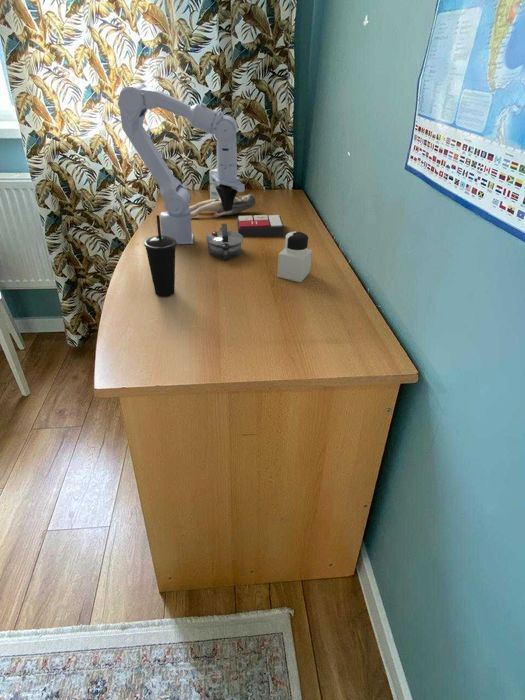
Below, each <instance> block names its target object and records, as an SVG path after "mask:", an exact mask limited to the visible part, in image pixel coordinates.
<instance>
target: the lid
mask: <svg viewBox="0 0 525 700" xmlns="http://www.w3.org/2000/svg"><path fill="white" fill-rule="evenodd" d="M221 228H222V231H220V230H215V231H214V230H212V231H211V232H210V233H208V234H207V235H206V236H205V237H206V239H205V240H206V242H207V244H208V243H209V244H211V245H214V246H218V247H221V248H222V249H229V248H230V247H233V246H237V245H239V244H241V245H242V244H243V242H244V236H242V235H241V234H239V233H238V231H233V230H228V224H227V223H221Z"/></svg>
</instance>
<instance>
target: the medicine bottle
mask: <svg viewBox="0 0 525 700" xmlns="http://www.w3.org/2000/svg"><path fill="white" fill-rule="evenodd" d="M308 244H309V236H308V235H307V234H306V233H304V232H302V231H290V232H288V233H286V234H285V240H284V248H283V249H282V250H281V251H280V252H278V258H277V259H278V260H277V261H278V262H277V277H278V278H281V279H285V280H288V281H292V282H295V283H296V282H297V283H302V282H303V281H304V279H305V278H306V277H307V276H308V275H309V274H310V271H311V262H312V254H313V250H312V249H309V248H308Z"/></svg>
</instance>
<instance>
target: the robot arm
mask: <svg viewBox="0 0 525 700" xmlns="http://www.w3.org/2000/svg"><path fill="white" fill-rule="evenodd" d="M117 100H118V101H117V107H118V108H119V113H120V120H121V121H120V122H121V128H122V130H123V132H124V134H125V135H126V137H127V138H128V140H129V141H130V143H131V145H133V148H134V149H135V151H136V152H137V154H138V156H139V157H140V158H141V161H142V162H143V163H144V164H145V166H146V168H147V170H148V171H149V173H150V174H151V176H152V177H153V179H154V180H155V182H156V184H157V185H158V188H159V191H160V197H162V200H163V202H164V207H165V209H166V211H161V212H160V228H161V235H164V236H168V237H172V238H174V239H175V240H176V242H177V244H176V245H193V244H194V233H192V232H193V231H192V217H191V210H190V208H189V207H190V206H189V204H190V203H191V201H192V195H191V192H190V190H189V189H188V188H187V187H186V186H184V185H183V184H182V182H181V181H180V179H178V178H177V177H175V176H174V174H173V172H172V171H171V169H170V167H168V165H167V163H166V162H165V160H164V158H163V157H162V155H161V153H160V151H159V150H158V148H157V146H156V145H155V143H154V142H153V140H152V138H151V137H150V136H149V134H148V132H147V130H146V129H145V128H144V120H145V115H146V112H147V111H148V110H151V109H157V108H159V109H162V110H164V111H168V112H171V113H172V114H175V115H178V116H180V117H183V118H186V119H187V121H188V123H189V124H190V126H192V127H193V128H196V129H199V130H201V131H203V132H205V133H208V134H210V135H214V136H215V137H216V169H217V173H214V174H211V181H216V182H217V183H219V184H220V185H219V186H216V190H217V192H218V194H219V196H220V199H221V202H222V206H223V209H224V211H231V210H232V206H233V202H234V199H235V197H237V195H238V194H237V193H242V192H243V193H244V192H245V185H246V184H244V183H243V182H241V181H240V177H239V176H238V158H237V157H238V147H237V137H236V135H237V132H238V122H237V120H236V119H235V118H234V117H232V116H231V115H230V114H224V112H222V111H219V112H218V111H216V110H214V109H211V108H209V107H207V104H205V103H204V102H202V103H201V104H199V103H195V104H193V105H191V104H188V103H186V102H184V101H182V100H179V99H178V98H176V97H174V96H171V95H170V94H168V93H167V92H166V93H165V92H163V91H161V90H159V89H157V88H155V87H153V86H149V85H145V84H144V83H141V82H136V83H134V84H132V85H130V86H128V85H127V86H124V87H123V88H122V89H121V91H120V93H119V96H118V99H117Z"/></svg>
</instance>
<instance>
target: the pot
mask: <svg viewBox="0 0 525 700" xmlns="http://www.w3.org/2000/svg"><path fill="white" fill-rule="evenodd" d="M219 231H222V227H220V228H219ZM207 252H208V255H210V256H211V257H213V258H217V259H222V260H223V261H224V262H227V261H229V259H232V258H237V257H239V256H240V255H241V253H242V243H241V244H239V245H237V246H233V247H230V248H229V249H222V248H221V247H218V246H214V245H211V244H209V243H208V242H207Z"/></svg>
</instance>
